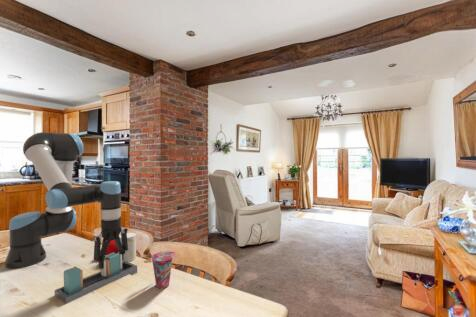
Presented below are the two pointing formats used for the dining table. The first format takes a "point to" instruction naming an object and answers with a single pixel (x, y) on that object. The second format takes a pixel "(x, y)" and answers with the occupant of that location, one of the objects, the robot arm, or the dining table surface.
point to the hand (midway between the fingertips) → (111, 271)
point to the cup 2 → (162, 268)
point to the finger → (112, 264)
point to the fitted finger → (73, 280)
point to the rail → (96, 282)
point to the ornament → (112, 248)
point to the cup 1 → (130, 247)
